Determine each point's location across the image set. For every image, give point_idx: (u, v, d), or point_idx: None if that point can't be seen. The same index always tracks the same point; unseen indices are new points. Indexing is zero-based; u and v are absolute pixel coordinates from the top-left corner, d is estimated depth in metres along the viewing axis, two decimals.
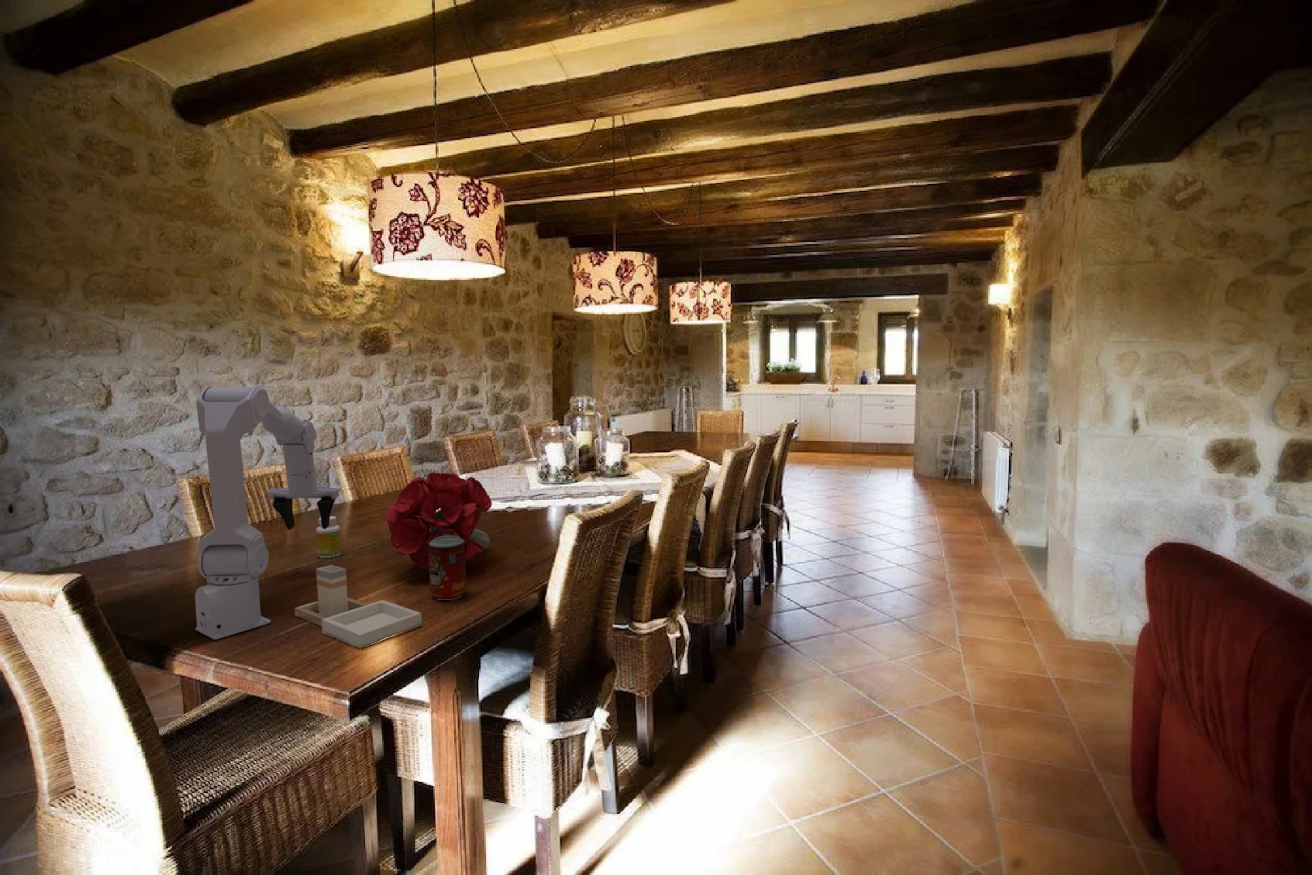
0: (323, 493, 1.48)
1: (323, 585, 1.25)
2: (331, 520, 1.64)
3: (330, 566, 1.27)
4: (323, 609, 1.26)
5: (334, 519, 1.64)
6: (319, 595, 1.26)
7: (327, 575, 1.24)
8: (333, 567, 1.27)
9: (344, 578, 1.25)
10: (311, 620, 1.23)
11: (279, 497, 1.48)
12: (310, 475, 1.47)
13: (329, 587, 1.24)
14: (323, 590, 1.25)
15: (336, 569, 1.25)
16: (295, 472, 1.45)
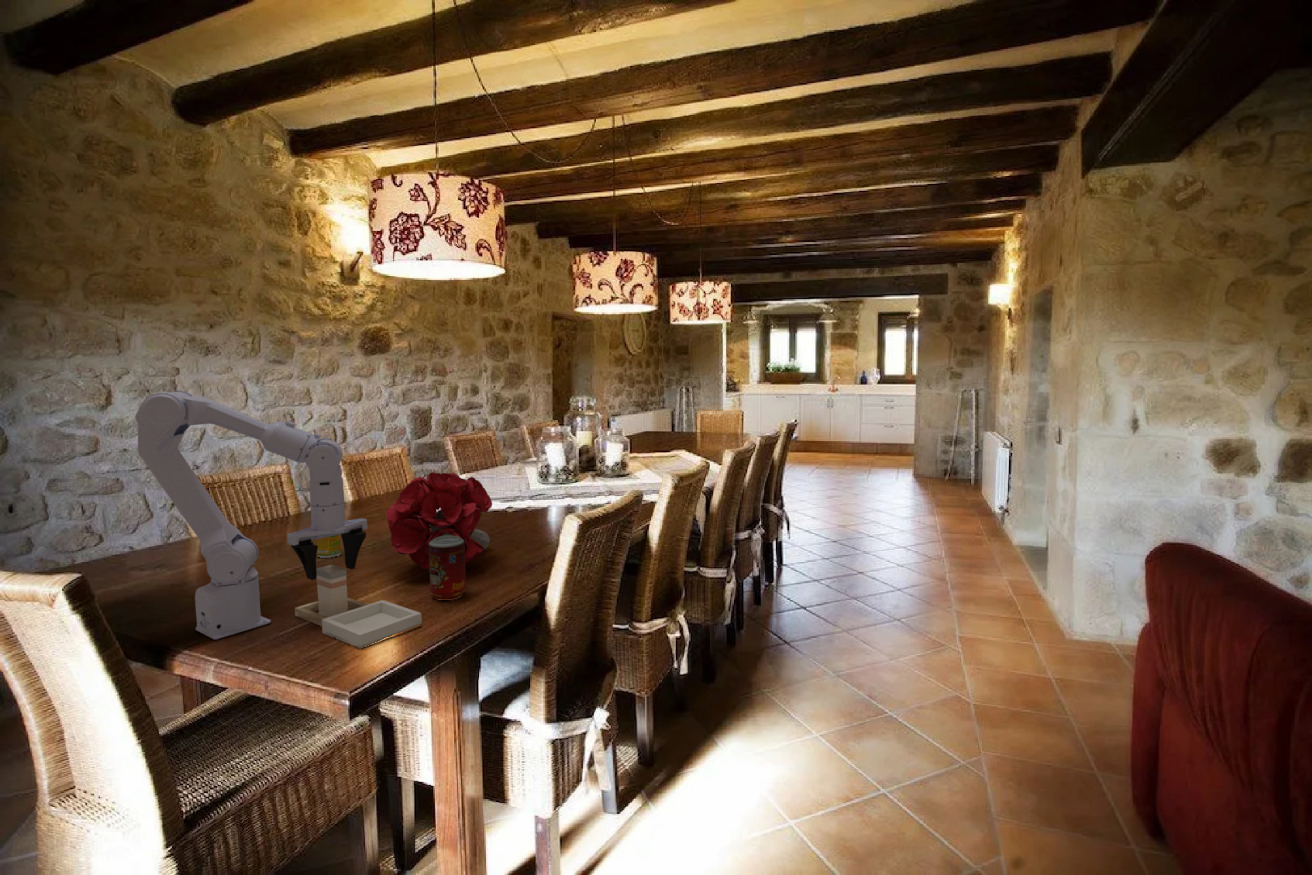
0: None
1: (323, 585, 1.25)
2: None
3: (330, 566, 1.27)
4: (323, 609, 1.26)
5: None
6: (319, 595, 1.26)
7: (327, 575, 1.24)
8: (333, 567, 1.27)
9: (344, 578, 1.25)
10: (311, 620, 1.23)
11: None
12: None
13: (329, 587, 1.24)
14: (323, 590, 1.25)
15: (336, 569, 1.25)
16: (310, 500, 1.23)
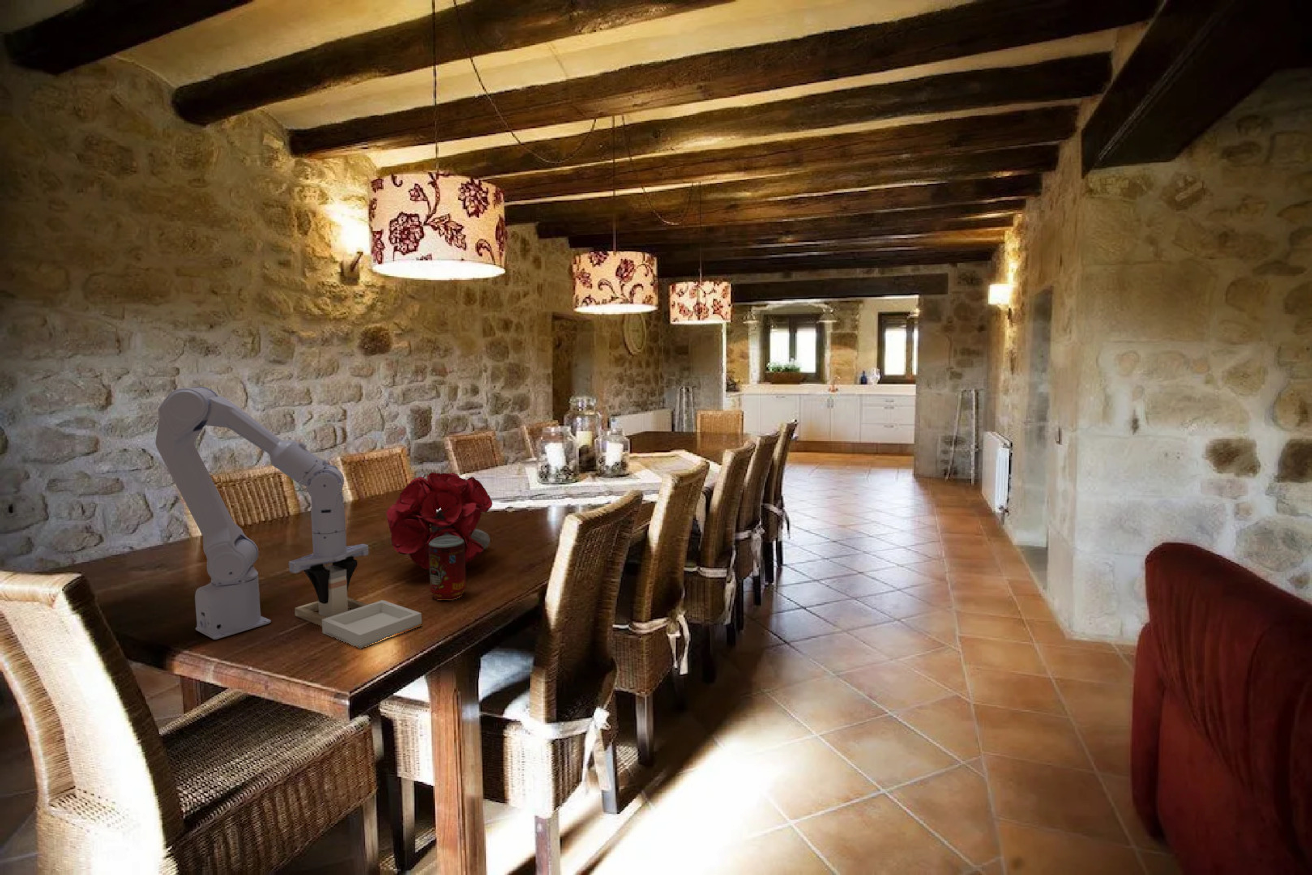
0: None
1: None
2: None
3: (330, 566, 1.27)
4: (323, 609, 1.26)
5: None
6: None
7: None
8: (333, 567, 1.27)
9: (344, 578, 1.25)
10: (311, 620, 1.23)
11: (355, 553, 1.30)
12: (312, 534, 1.24)
13: (329, 587, 1.24)
14: None
15: (336, 569, 1.25)
16: None
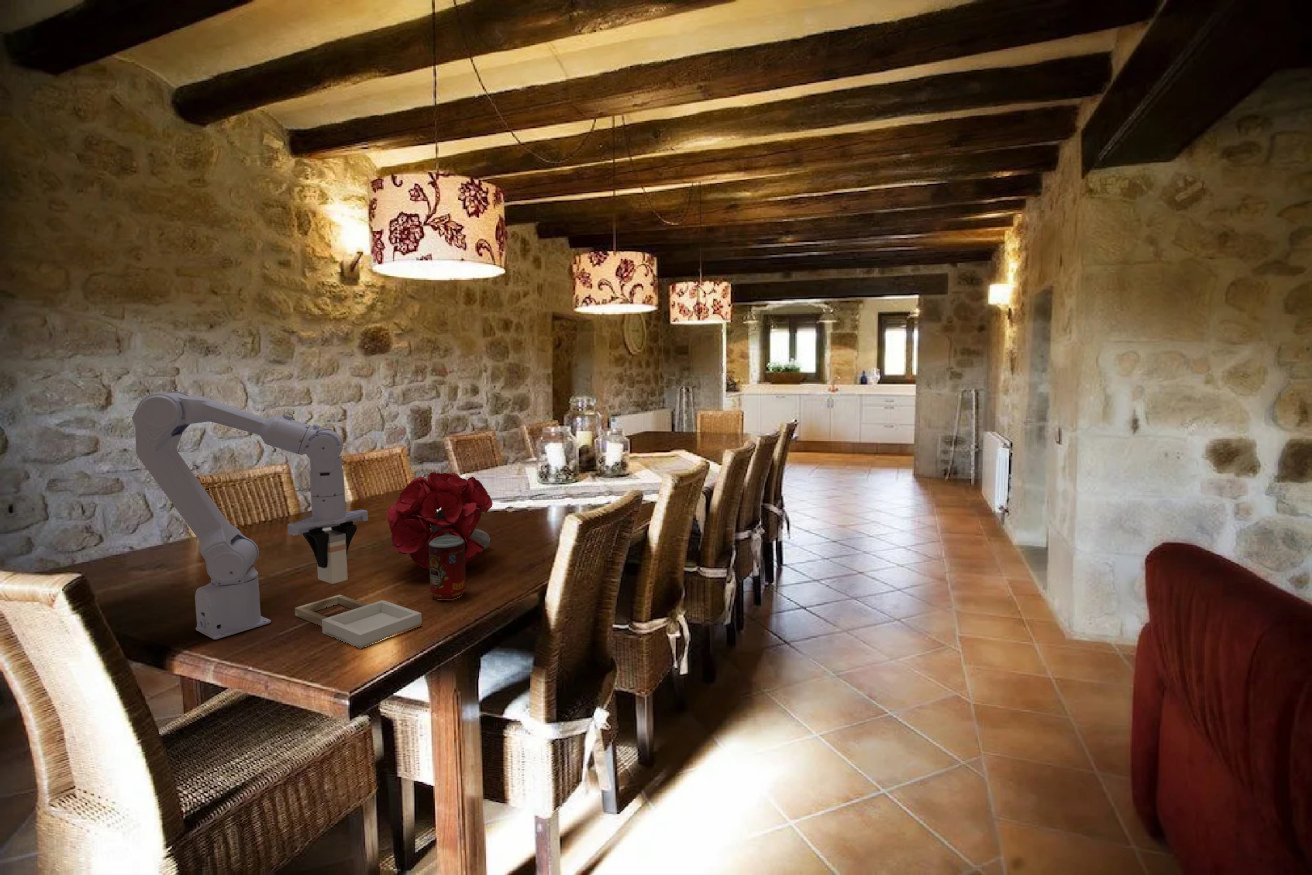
0: None
1: None
2: None
3: (329, 531, 1.26)
4: (322, 574, 1.25)
5: None
6: None
7: None
8: (332, 532, 1.26)
9: (343, 542, 1.24)
10: (311, 620, 1.23)
11: (354, 519, 1.29)
12: (311, 498, 1.23)
13: (329, 551, 1.23)
14: None
15: (335, 533, 1.24)
16: None
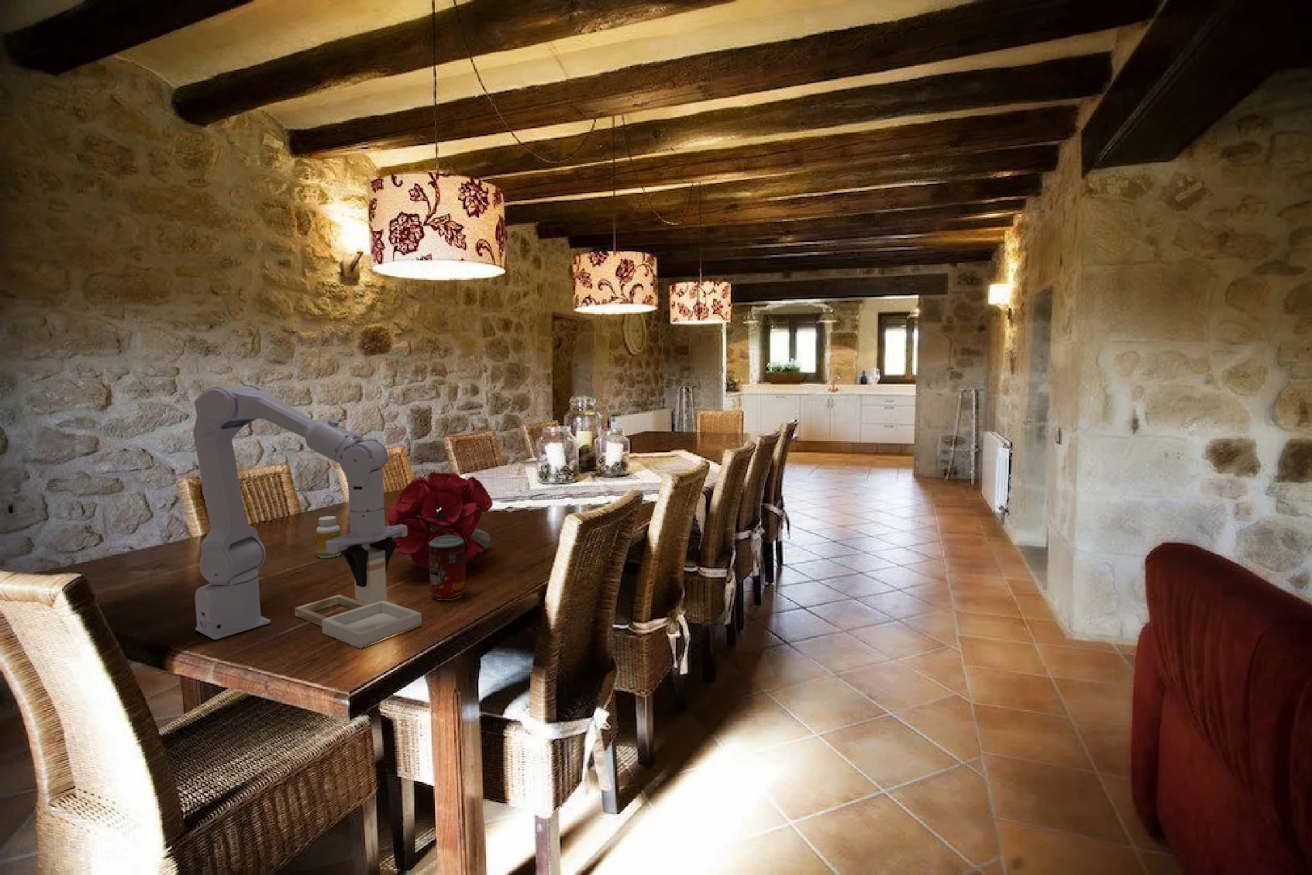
0: None
1: None
2: (331, 520, 1.64)
3: (367, 547, 1.19)
4: (360, 593, 1.18)
5: (334, 519, 1.64)
6: None
7: None
8: (370, 548, 1.19)
9: (383, 560, 1.17)
10: (311, 620, 1.23)
11: (393, 534, 1.22)
12: (349, 513, 1.16)
13: (368, 569, 1.16)
14: None
15: (374, 550, 1.17)
16: None
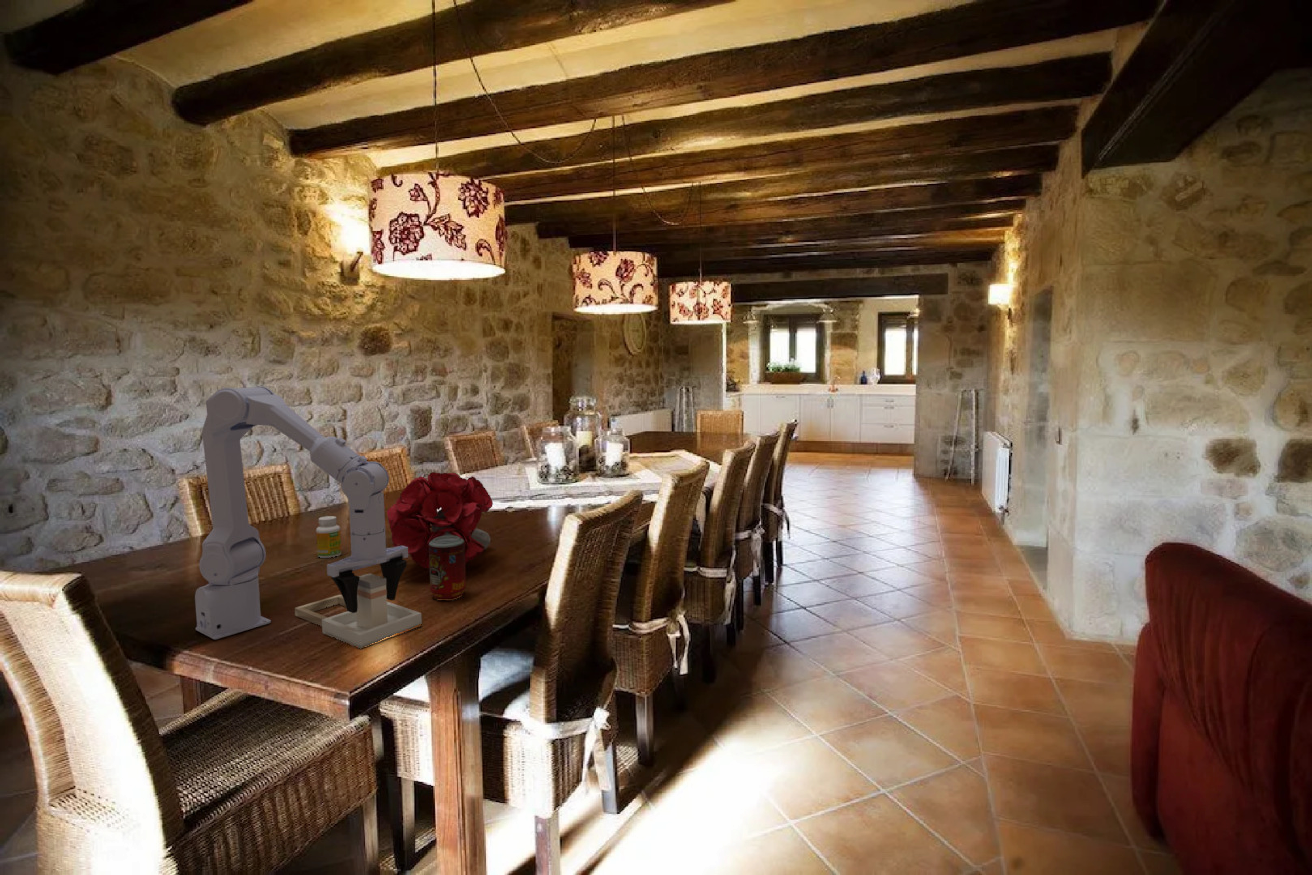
0: None
1: (362, 595, 1.18)
2: (331, 520, 1.64)
3: (368, 575, 1.20)
4: (361, 620, 1.18)
5: (334, 519, 1.64)
6: None
7: (366, 584, 1.16)
8: (372, 576, 1.19)
9: (384, 588, 1.18)
10: (311, 620, 1.23)
11: (394, 556, 1.22)
12: None
13: (369, 597, 1.16)
14: (361, 600, 1.18)
15: (375, 578, 1.18)
16: None
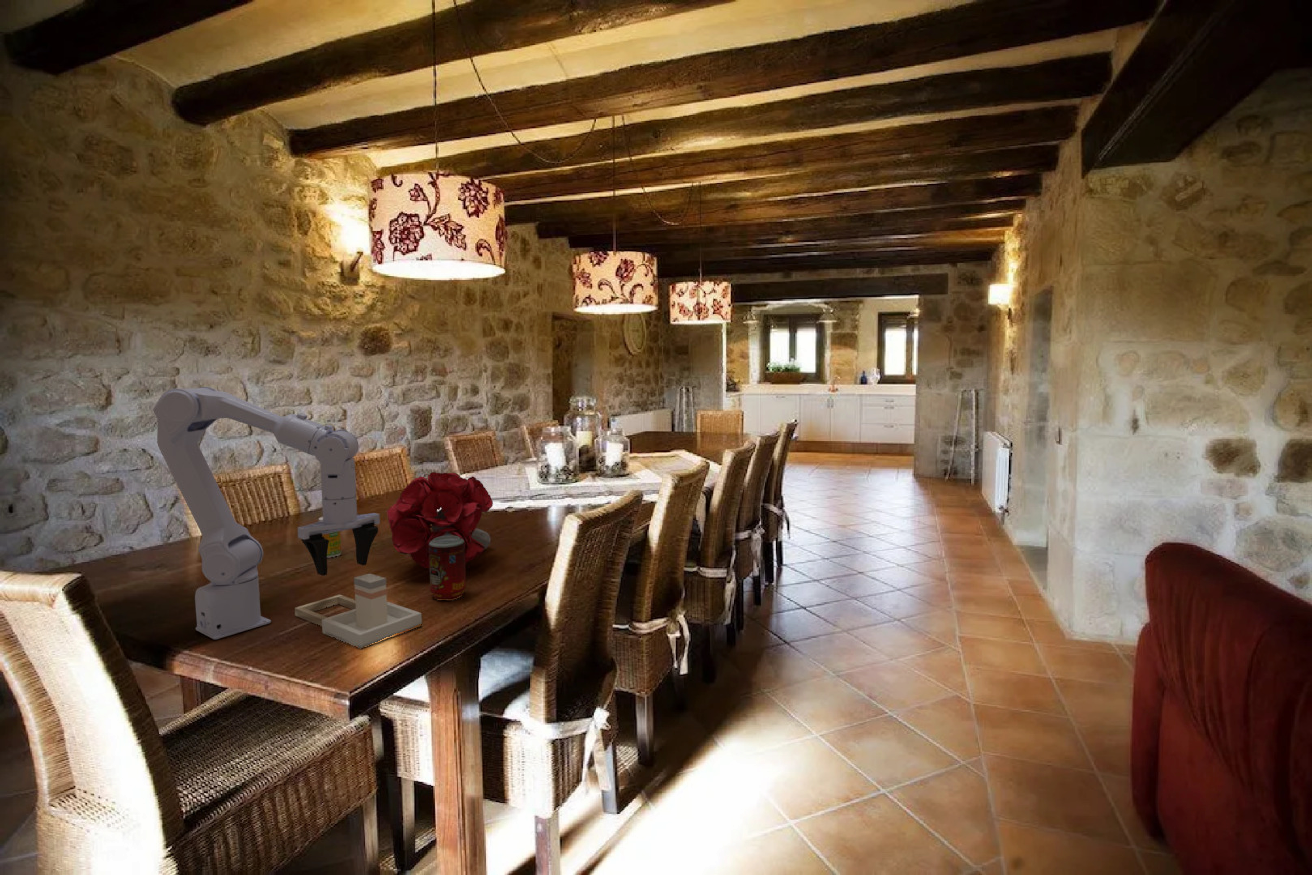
0: None
1: (362, 595, 1.18)
2: None
3: (368, 575, 1.20)
4: (361, 620, 1.18)
5: None
6: (357, 606, 1.19)
7: (366, 584, 1.16)
8: (372, 576, 1.19)
9: (384, 588, 1.18)
10: (311, 620, 1.23)
11: None
12: (322, 501, 1.19)
13: (369, 597, 1.16)
14: (361, 600, 1.18)
15: (375, 578, 1.18)
16: None
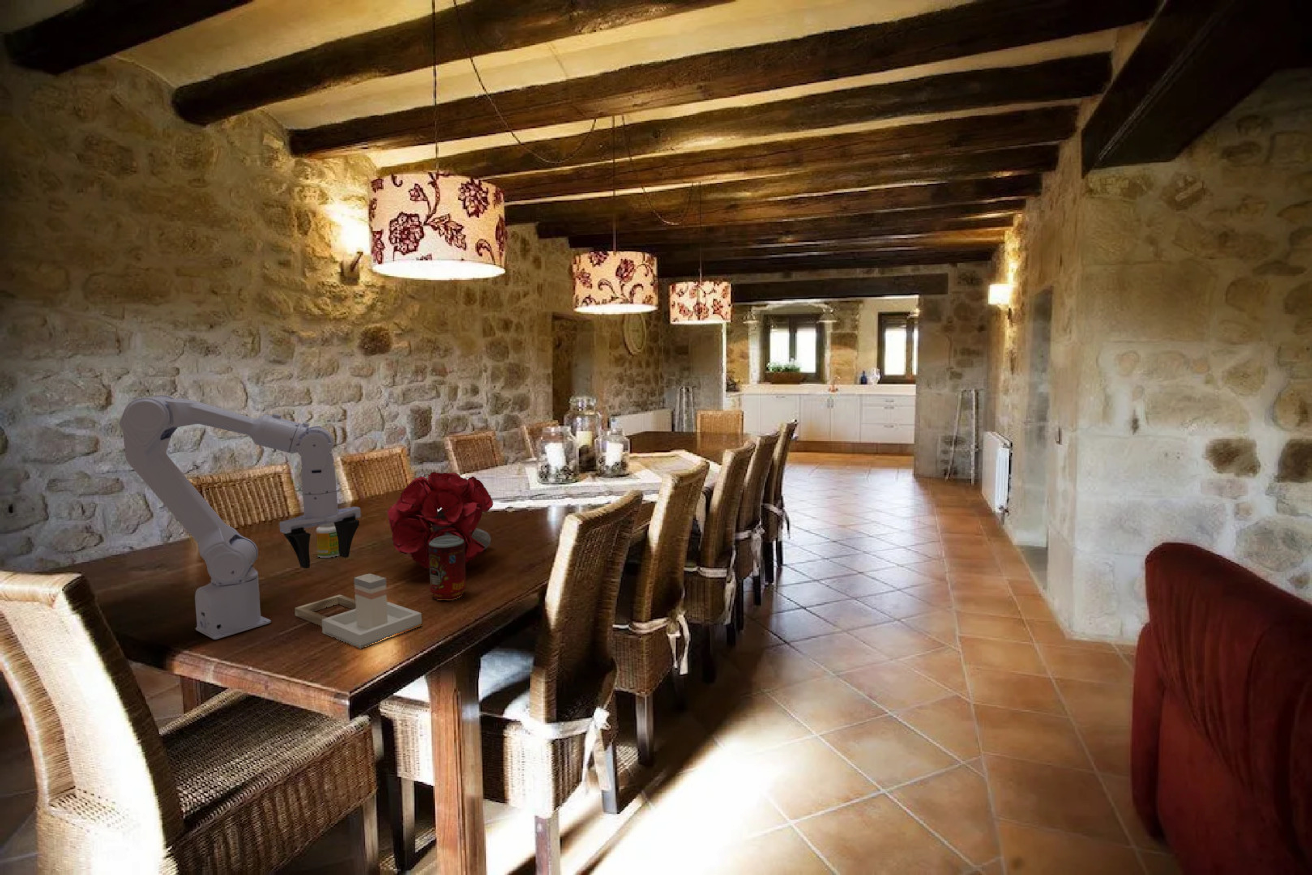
0: None
1: (362, 595, 1.18)
2: None
3: (368, 575, 1.20)
4: (361, 620, 1.18)
5: None
6: (357, 606, 1.19)
7: (366, 584, 1.16)
8: (372, 576, 1.19)
9: (384, 588, 1.18)
10: (311, 620, 1.23)
11: (347, 516, 1.29)
12: None
13: (369, 597, 1.16)
14: (361, 600, 1.18)
15: (375, 578, 1.18)
16: (302, 489, 1.23)
